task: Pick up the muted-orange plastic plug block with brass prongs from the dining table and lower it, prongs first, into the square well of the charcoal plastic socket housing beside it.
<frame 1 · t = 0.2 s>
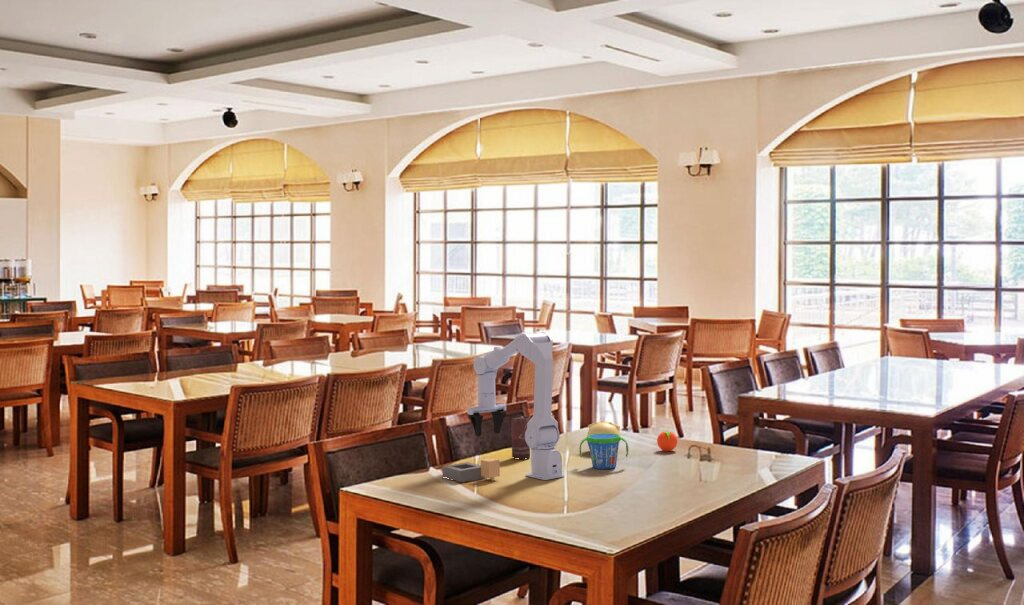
hand: (487, 434, 324), 10 cm above the table, fingers open, 7 cm apart
socket: (464, 478, 304), on the table
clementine: (667, 451, 341), on the table
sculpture: (603, 452, 343), on the table
can: (521, 458, 334), on the table
snack cup: (604, 468, 316), on the table
plug: (490, 480, 300), on the table
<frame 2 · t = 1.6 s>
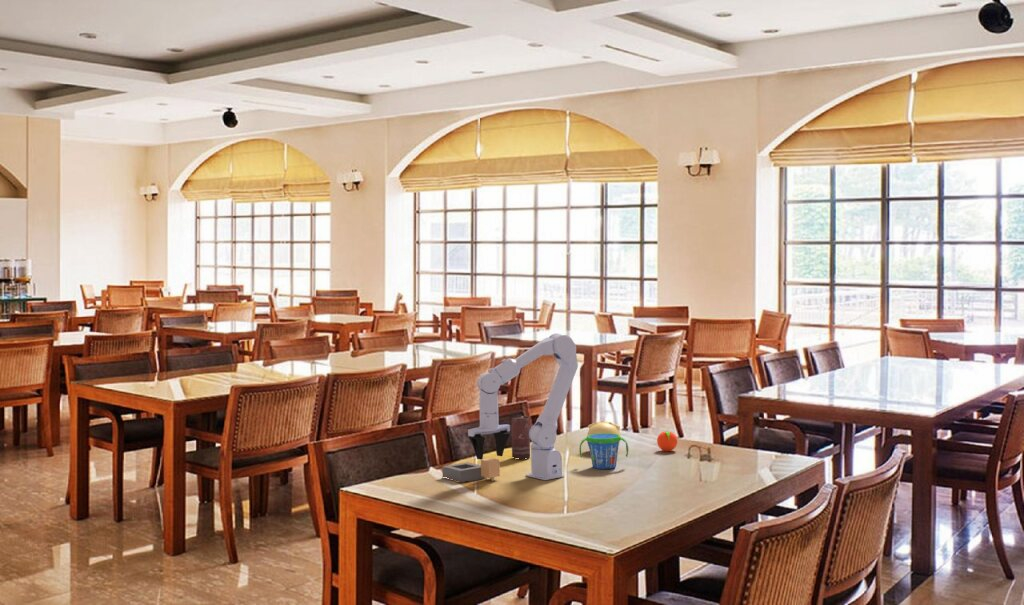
hand: (489, 457, 300), 7 cm above the table, fingers open, 7 cm apart
nothing on the table moved.
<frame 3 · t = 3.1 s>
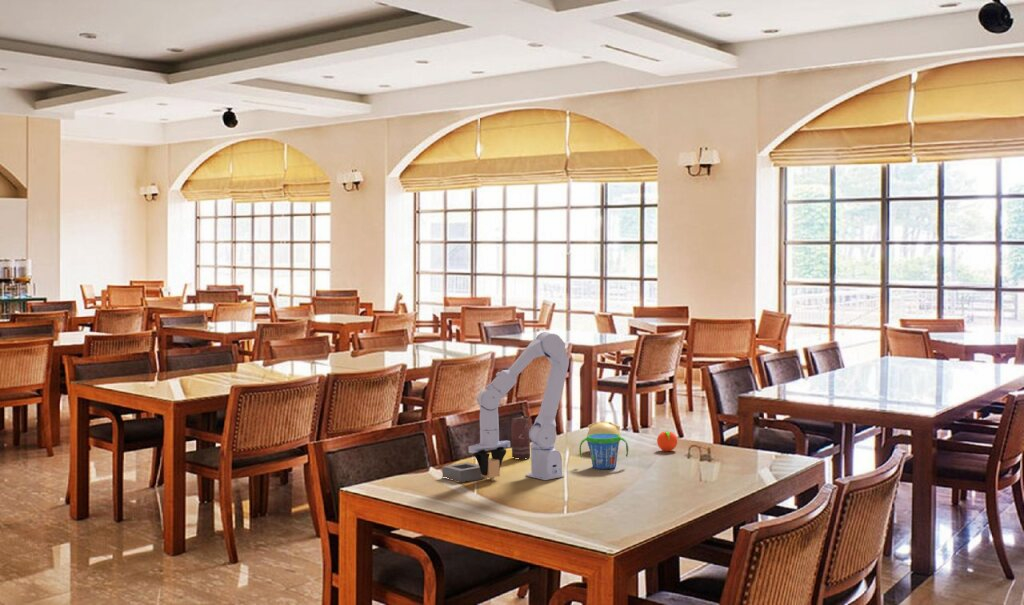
hand: (490, 473, 300), 2 cm above the table, fingers closed on plug, 4 cm apart
plug: (490, 480, 300), on the table, touching gripper
everything else where it was.
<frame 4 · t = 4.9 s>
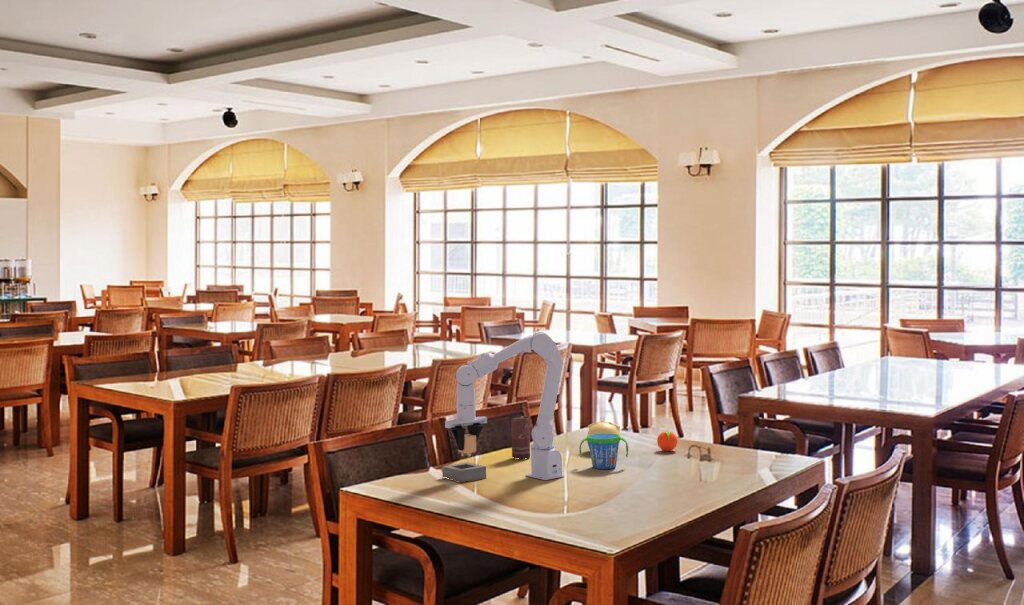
hand: (466, 449, 303), 9 cm above the table, fingers closed on plug, 4 cm apart
plug: (467, 455, 303), point 7 cm above the table, touching gripper
everything else where it was.
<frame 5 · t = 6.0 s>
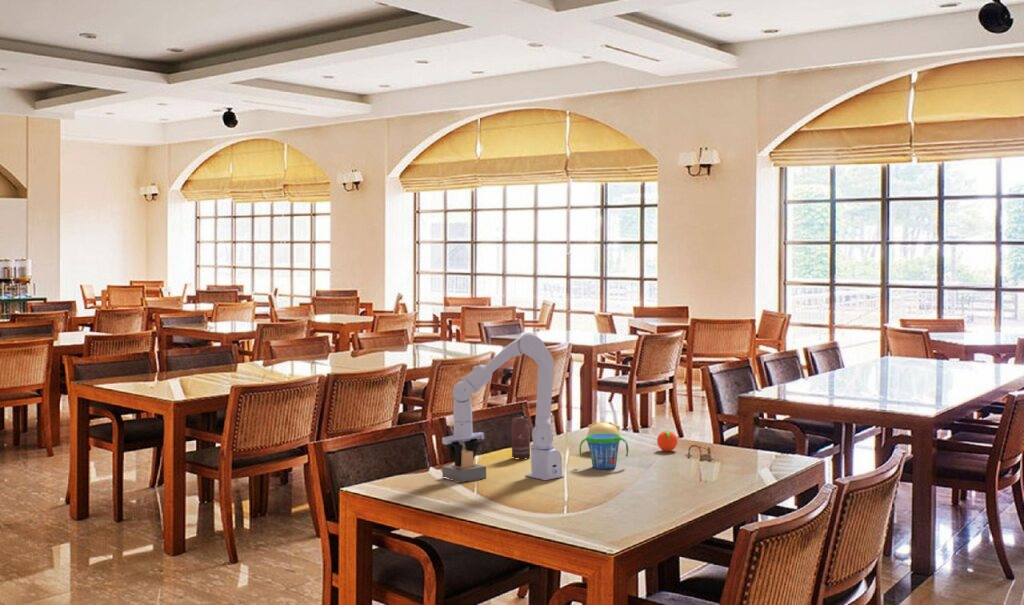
hand: (464, 465, 303), 4 cm above the table, fingers closed on plug, 4 cm apart
plug: (464, 471, 303), point 2 cm above the table, touching gripper
everything else where it was.
when the fingers open (4 cm above the table, at t = 6.8 s): plug drops 1 cm, resting on socket.
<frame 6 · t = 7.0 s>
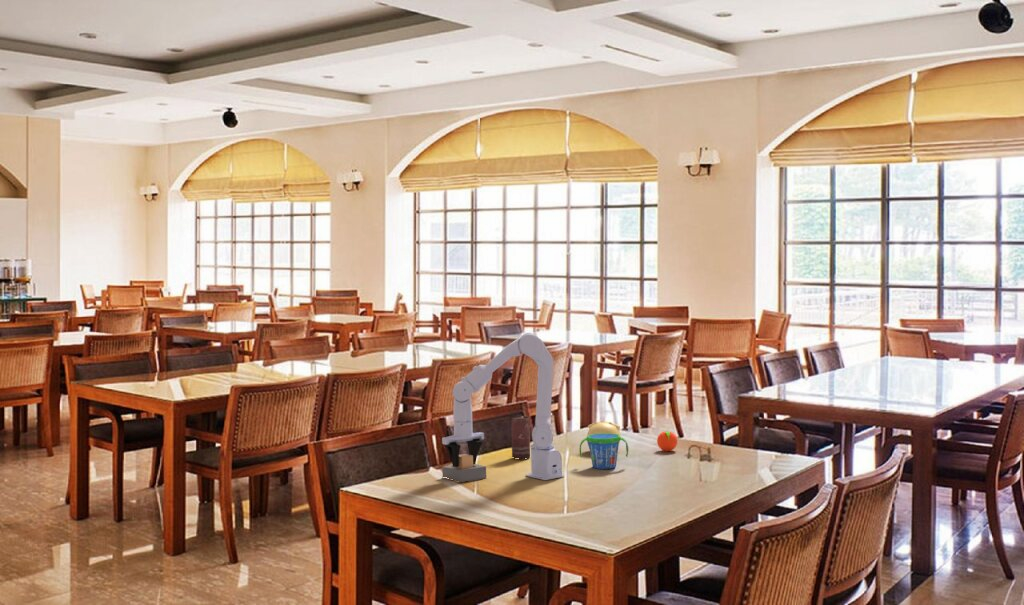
hand: (464, 465, 303), 4 cm above the table, fingers open, 6 cm apart
plug: (464, 475, 303), point 1 cm above the table, touching socket
everything else where it was.
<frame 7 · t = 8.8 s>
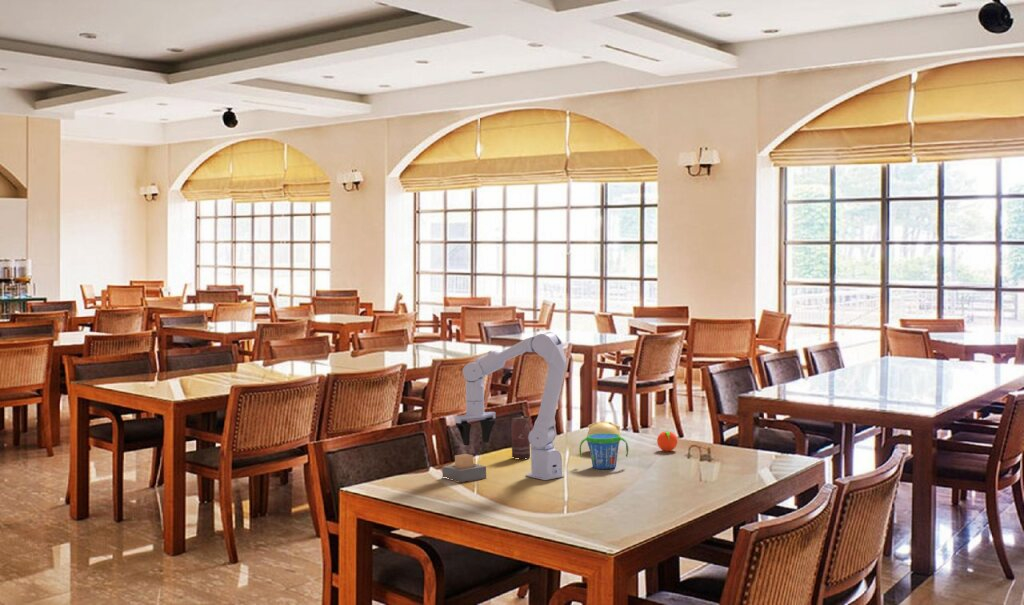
hand: (476, 443, 310), 9 cm above the table, fingers open, 7 cm apart
nothing on the table moved.
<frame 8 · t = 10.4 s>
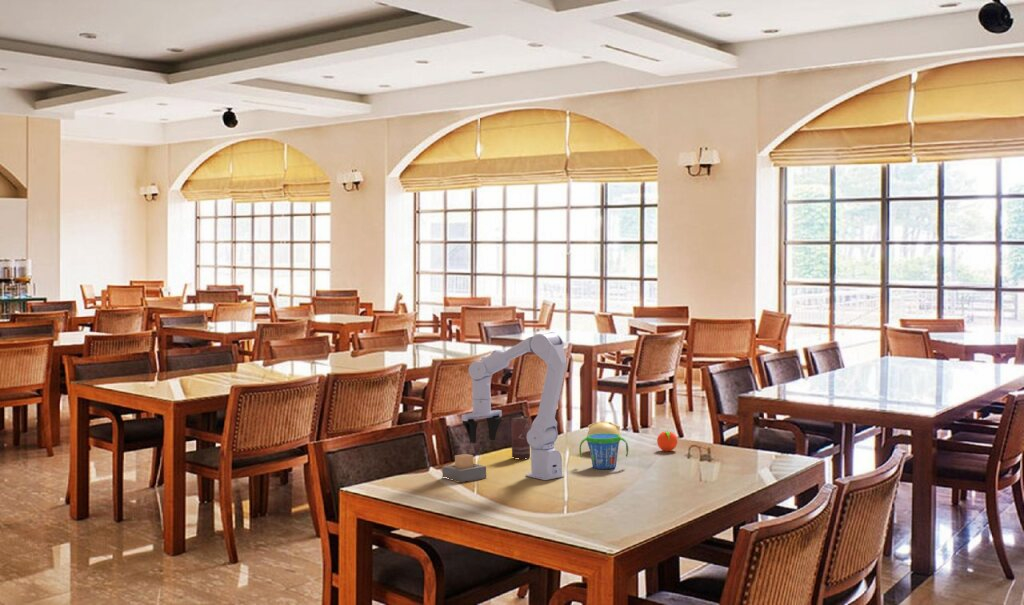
hand: (482, 441, 314), 9 cm above the table, fingers open, 7 cm apart
nothing on the table moved.
at the end: plug 0.1 cm off-centre on the socket, point 0.8 cm above the socket's base; plug tilted 0°; the gripper is holding nothing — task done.
